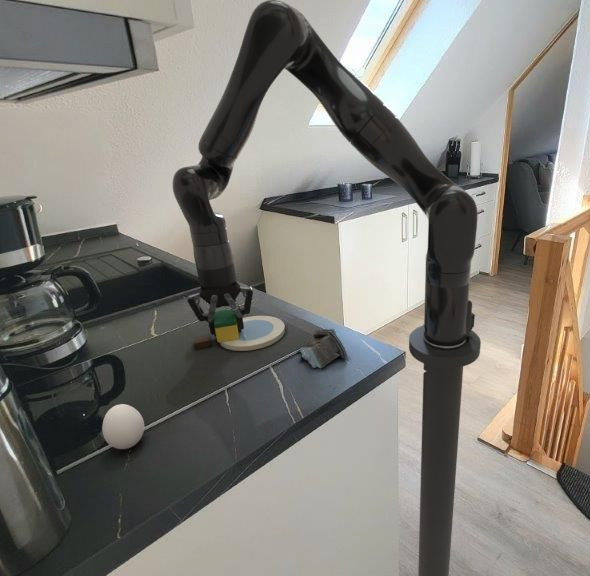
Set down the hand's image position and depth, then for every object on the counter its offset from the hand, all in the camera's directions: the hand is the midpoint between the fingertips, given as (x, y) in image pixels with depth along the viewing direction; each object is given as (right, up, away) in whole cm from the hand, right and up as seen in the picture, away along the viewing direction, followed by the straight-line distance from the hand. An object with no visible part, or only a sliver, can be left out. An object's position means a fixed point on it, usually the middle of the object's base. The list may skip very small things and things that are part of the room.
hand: (228, 332), depth 93 cm
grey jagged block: (+22, -4, -7) cm, 23 cm away
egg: (-4, -14, -30) cm, 33 cm away
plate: (+5, -1, +2) cm, 5 cm away
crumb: (-5, -1, -2) cm, 6 cm away
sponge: (0, 0, 0) cm, 0 cm away
